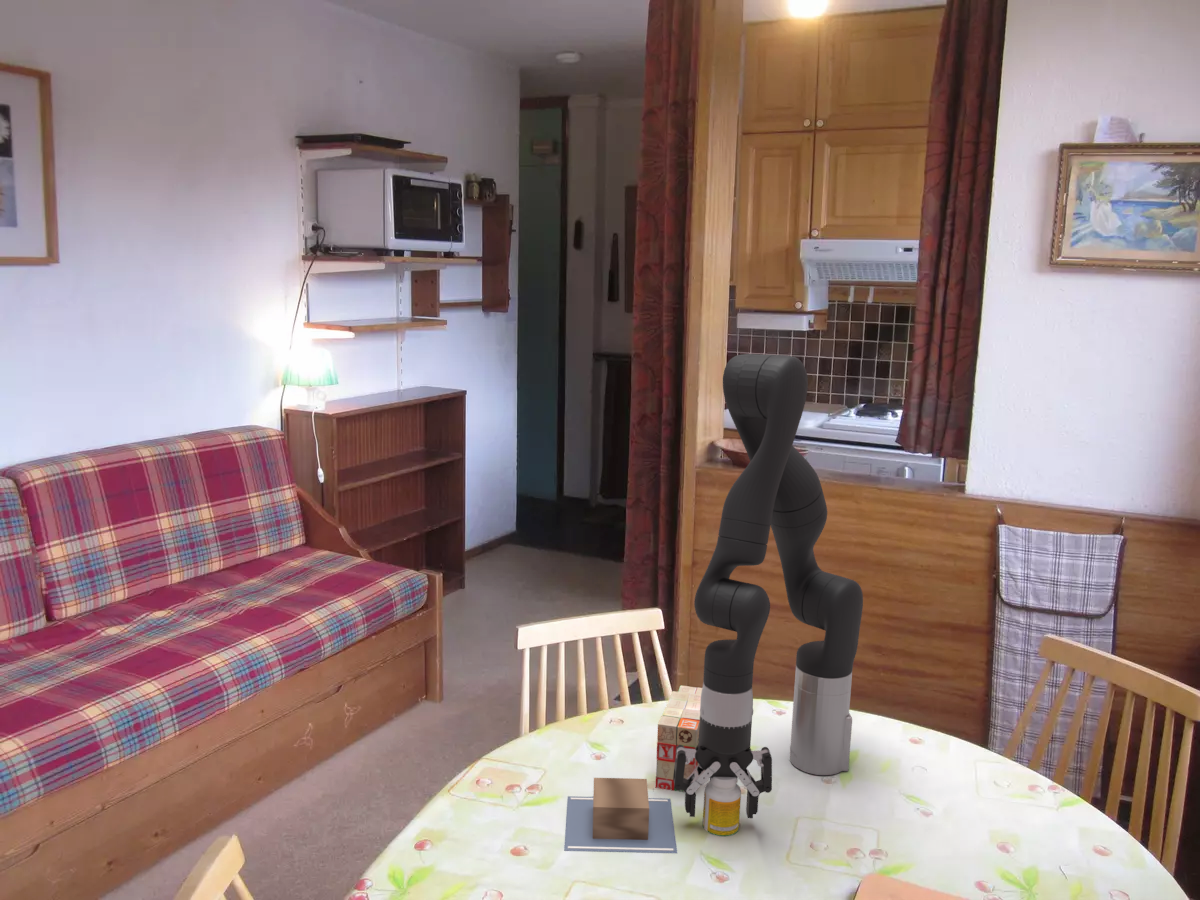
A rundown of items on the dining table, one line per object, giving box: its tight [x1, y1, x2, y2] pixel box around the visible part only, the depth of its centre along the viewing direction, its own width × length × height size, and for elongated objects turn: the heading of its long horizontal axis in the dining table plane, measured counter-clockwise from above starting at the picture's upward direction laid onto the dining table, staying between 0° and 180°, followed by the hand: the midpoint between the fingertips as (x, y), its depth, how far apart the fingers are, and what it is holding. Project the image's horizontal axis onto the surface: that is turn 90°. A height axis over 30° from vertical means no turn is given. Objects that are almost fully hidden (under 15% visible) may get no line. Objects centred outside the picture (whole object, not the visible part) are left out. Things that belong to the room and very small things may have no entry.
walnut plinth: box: [592, 777, 649, 840], centre depth 141 cm, size 8×8×5 cm
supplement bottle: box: [702, 777, 742, 837], centre depth 141 cm, size 5×5×10 cm
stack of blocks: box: [655, 685, 703, 793], centre depth 160 cm, size 21×6×12 cm, turn 165°
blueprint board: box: [563, 795, 678, 854], centre depth 142 cm, size 16×14×1 cm
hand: (720, 814), depth 141 cm, fingers open, 8 cm apart
